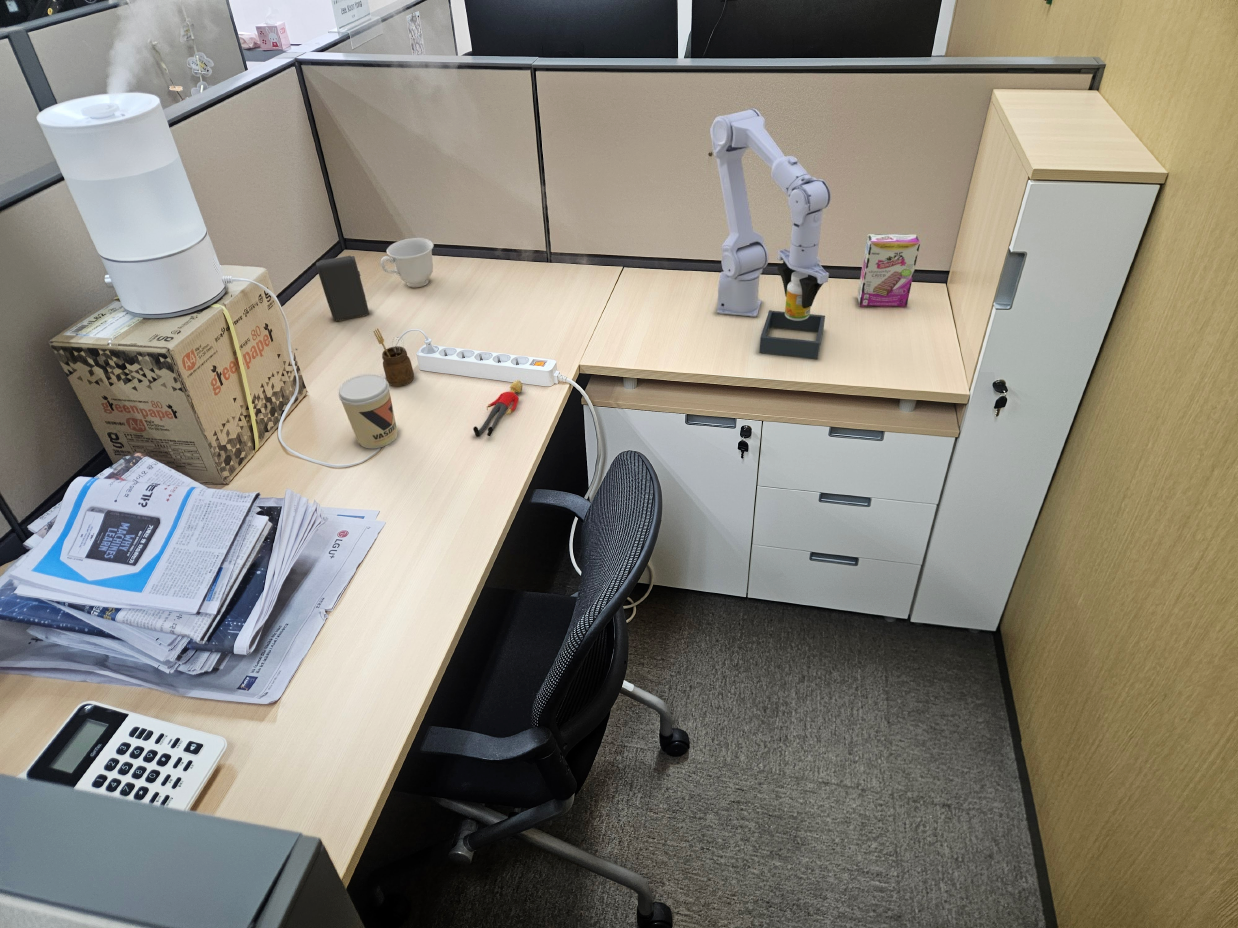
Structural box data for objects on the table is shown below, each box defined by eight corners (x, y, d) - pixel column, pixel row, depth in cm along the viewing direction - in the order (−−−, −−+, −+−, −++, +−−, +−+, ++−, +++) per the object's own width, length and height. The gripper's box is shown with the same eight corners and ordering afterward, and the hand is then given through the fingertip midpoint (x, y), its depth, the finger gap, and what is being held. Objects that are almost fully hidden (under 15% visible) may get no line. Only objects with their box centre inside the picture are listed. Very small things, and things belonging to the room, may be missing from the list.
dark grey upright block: (370, 309, 200) (354, 253, 191) (371, 316, 197) (355, 259, 188) (332, 316, 198) (315, 259, 189) (333, 323, 195) (316, 266, 186)
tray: (759, 353, 174) (760, 337, 172) (767, 325, 184) (769, 310, 181) (817, 359, 171) (819, 343, 169) (823, 331, 180) (825, 315, 178)
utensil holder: (405, 389, 170) (392, 340, 163) (380, 384, 172) (367, 336, 164) (420, 374, 174) (408, 326, 167) (395, 370, 176) (383, 322, 169)
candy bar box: (859, 308, 188) (869, 242, 178) (856, 298, 192) (866, 233, 182) (908, 308, 187) (921, 242, 176) (904, 298, 191) (916, 233, 180)
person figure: (471, 418, 153) (509, 369, 166) (468, 433, 155) (507, 384, 168) (494, 429, 152) (532, 379, 165) (492, 443, 155) (528, 393, 168)
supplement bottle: (781, 310, 176) (785, 270, 170) (805, 308, 176) (810, 268, 170) (787, 322, 172) (791, 281, 166) (812, 320, 172) (817, 279, 166)
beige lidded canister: (377, 456, 152) (361, 405, 144) (343, 442, 156) (326, 391, 148) (411, 431, 158) (398, 380, 150) (378, 418, 162) (363, 368, 154)
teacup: (377, 287, 210) (367, 251, 204) (425, 269, 217) (417, 234, 211) (400, 301, 203) (391, 265, 196) (449, 282, 210) (442, 246, 204)
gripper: (843, 249, 159) (835, 310, 168) (798, 226, 170) (792, 284, 178) (815, 257, 157) (808, 318, 166) (771, 233, 167) (767, 292, 176)
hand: (798, 301), depth 172 cm, fingers closed on supplement bottle, 5 cm apart
